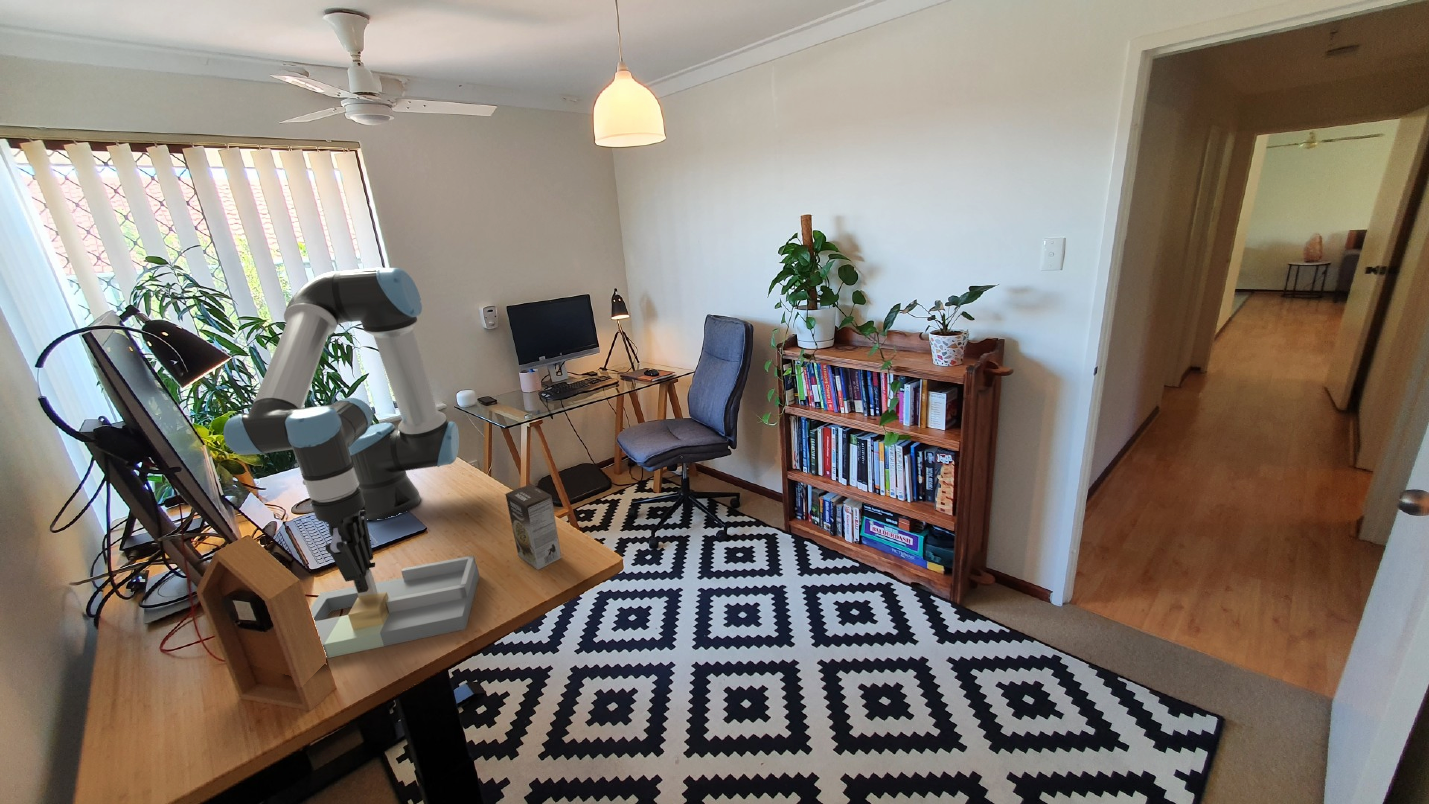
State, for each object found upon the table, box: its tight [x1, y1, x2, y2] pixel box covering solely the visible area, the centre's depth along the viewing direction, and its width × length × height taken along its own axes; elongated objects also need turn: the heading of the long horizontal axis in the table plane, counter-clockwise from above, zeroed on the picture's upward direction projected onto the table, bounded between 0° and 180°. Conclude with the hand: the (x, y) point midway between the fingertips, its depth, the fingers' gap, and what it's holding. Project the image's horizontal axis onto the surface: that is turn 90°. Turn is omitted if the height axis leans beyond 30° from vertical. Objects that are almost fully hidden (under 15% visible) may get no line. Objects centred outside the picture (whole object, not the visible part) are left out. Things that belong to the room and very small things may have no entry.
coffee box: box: [504, 483, 562, 571], centre depth 121 cm, size 9×6×16 cm
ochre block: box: [347, 592, 389, 630], centre depth 102 cm, size 5×5×4 cm
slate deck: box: [310, 554, 480, 659], centre depth 106 cm, size 17×30×6 cm, turn 104°
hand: (370, 601), depth 104 cm, fingers closed
